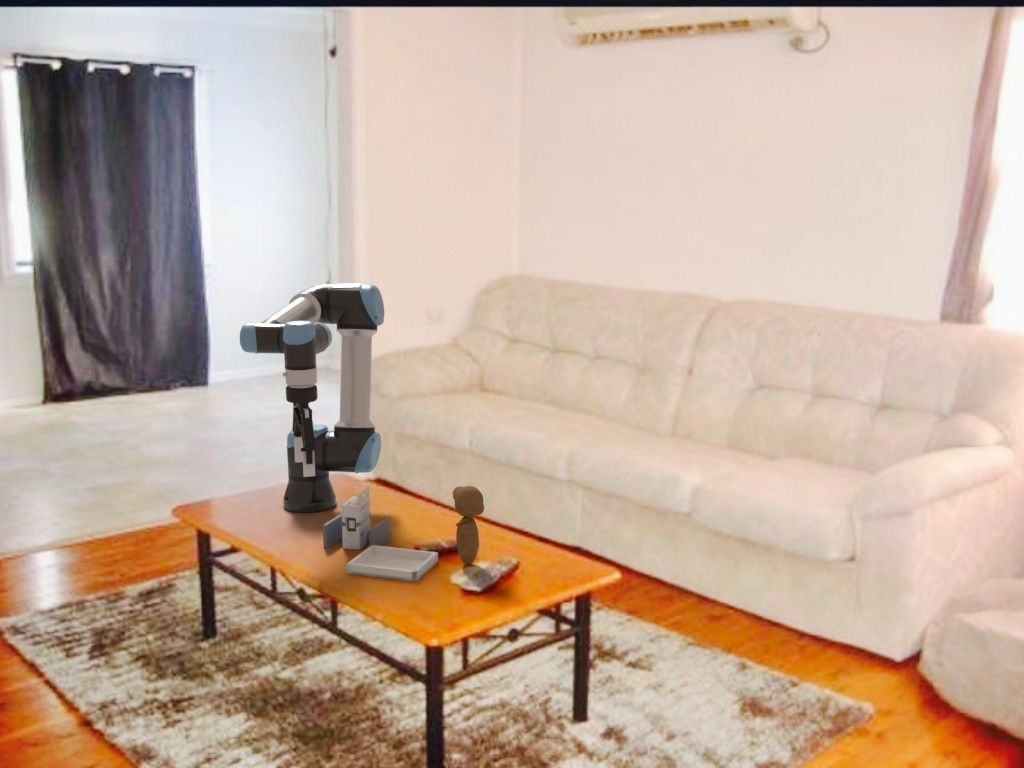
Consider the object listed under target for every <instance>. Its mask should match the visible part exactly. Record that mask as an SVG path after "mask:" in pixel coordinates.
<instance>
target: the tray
mask: <svg viewBox="0 0 1024 768" xmlns="http://www.w3.org/2000/svg"><path fill="white" fill-rule="evenodd" d="M438 562H439V552H436V551H427V550H418V549H413V548H412V549H411V548H402V547H401V548H400V547H394V546H393V547H392V546H385V545H383V546H378V545H371V546H370V547H369V546H368V547H367V548H366V549H365V550H363V551H362V552H360V553H358V555H356V556H355V557H354V558H353V559H351V560H350V561H348V562H347V563H346V574H351V575H359V576H367V577H374V578H380V579H381V578H382V579H390V580H398V581H403V582H404V581H407V582H418V581H419V580H420V579H421V578H422V577H423V576H424V575H425V574H426V573H427V572H429V571H430V570H431V569H432V568H433V567H434V566H435V565H436V564H437V563H438Z"/></svg>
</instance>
